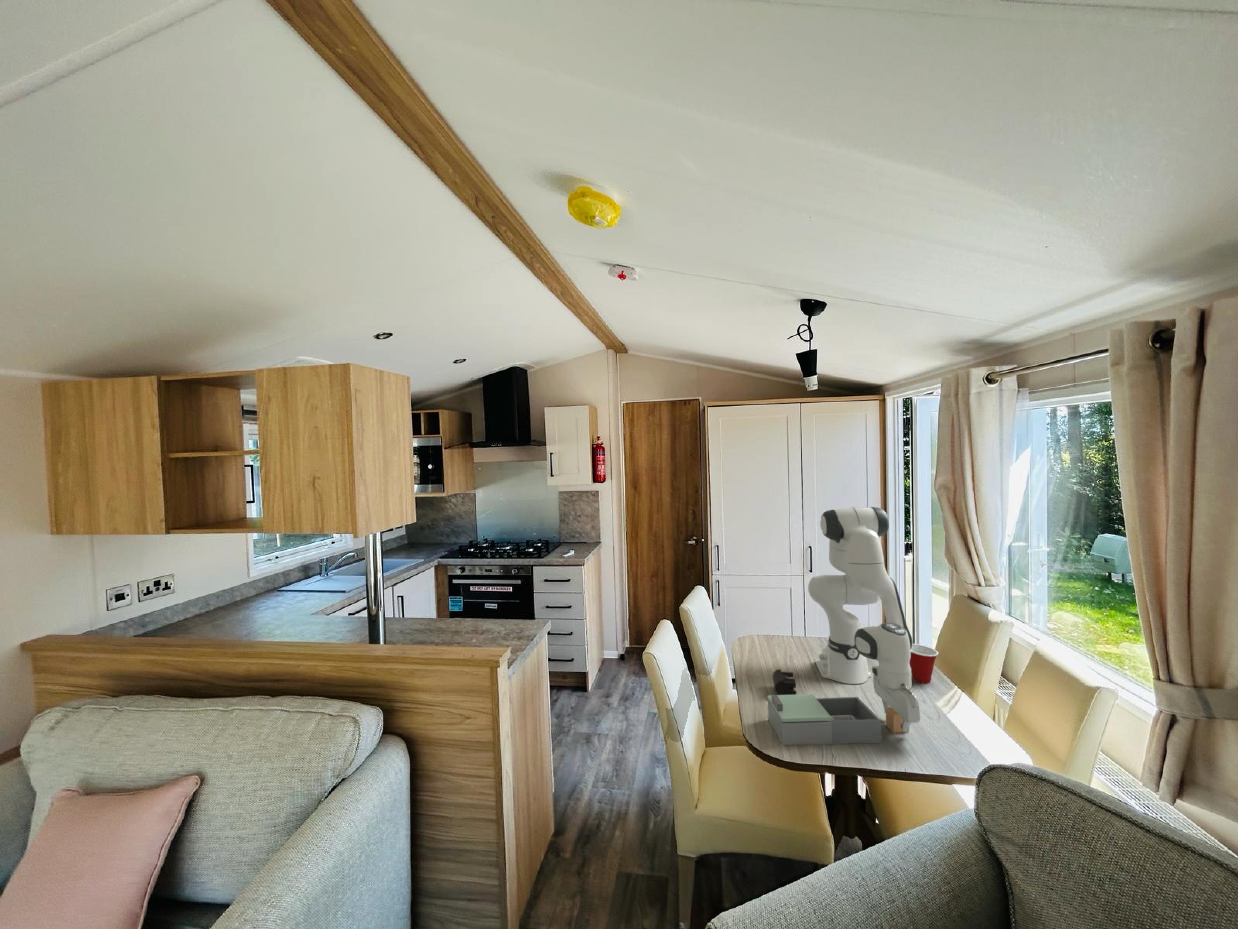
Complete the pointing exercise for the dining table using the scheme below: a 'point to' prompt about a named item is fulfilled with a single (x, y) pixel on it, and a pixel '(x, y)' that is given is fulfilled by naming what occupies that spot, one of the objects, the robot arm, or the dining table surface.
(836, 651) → the robot arm
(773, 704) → the lid
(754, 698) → the dining table surface
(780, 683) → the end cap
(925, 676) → the plastic cup
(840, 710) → the box
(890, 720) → the jaw block
